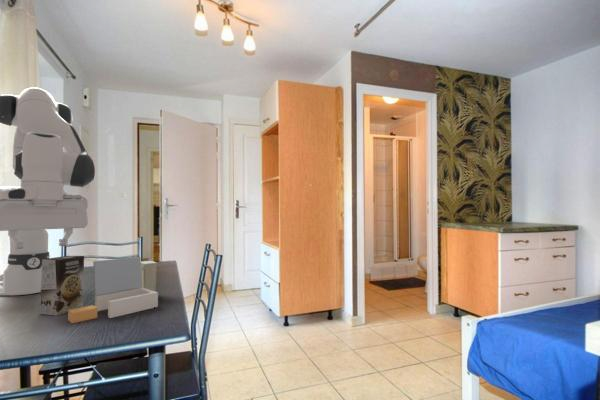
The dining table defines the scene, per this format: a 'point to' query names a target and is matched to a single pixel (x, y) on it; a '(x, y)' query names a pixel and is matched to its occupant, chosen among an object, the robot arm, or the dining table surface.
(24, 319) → the dining table surface
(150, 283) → the skincare box
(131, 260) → the lid
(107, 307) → the open tray
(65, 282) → the coffee box
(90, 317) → the tan cardboard brick
